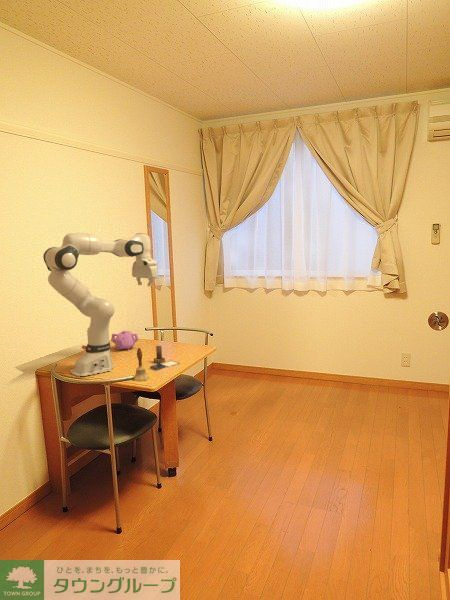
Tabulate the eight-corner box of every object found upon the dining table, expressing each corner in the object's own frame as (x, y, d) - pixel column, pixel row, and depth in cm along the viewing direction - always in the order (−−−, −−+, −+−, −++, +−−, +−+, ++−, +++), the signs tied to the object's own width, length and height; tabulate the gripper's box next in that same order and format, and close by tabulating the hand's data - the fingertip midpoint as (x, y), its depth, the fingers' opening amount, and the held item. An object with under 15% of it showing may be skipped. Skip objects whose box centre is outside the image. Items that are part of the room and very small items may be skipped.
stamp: (158, 364, 230) (157, 348, 228) (153, 362, 233) (153, 346, 231) (165, 361, 234) (164, 346, 232) (160, 360, 236) (160, 344, 235)
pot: (116, 344, 272) (115, 327, 270) (142, 344, 271) (141, 327, 269) (107, 352, 254) (106, 334, 252) (135, 352, 253) (134, 334, 252)
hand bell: (143, 382, 202) (142, 351, 200) (129, 380, 205) (127, 349, 203) (152, 376, 210) (151, 346, 207) (138, 374, 213) (137, 345, 210)
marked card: (168, 367, 223) (168, 366, 223) (159, 364, 229) (159, 364, 228) (180, 363, 230) (180, 363, 230) (171, 361, 235) (171, 360, 235)
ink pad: (156, 370, 219) (156, 368, 219) (150, 368, 223) (149, 366, 222) (165, 367, 223) (165, 365, 223) (159, 365, 227) (159, 363, 227)
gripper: (128, 261, 240) (129, 284, 242) (149, 262, 227) (150, 287, 229) (137, 261, 245) (138, 283, 247) (158, 262, 231) (159, 286, 233)
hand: (144, 285), depth 238 cm, fingers open, 8 cm apart
